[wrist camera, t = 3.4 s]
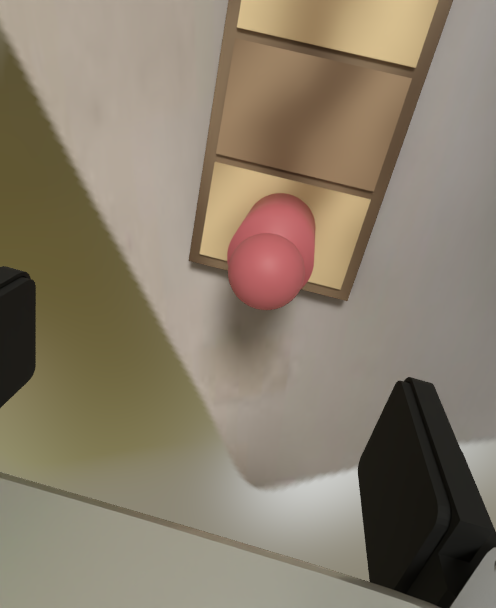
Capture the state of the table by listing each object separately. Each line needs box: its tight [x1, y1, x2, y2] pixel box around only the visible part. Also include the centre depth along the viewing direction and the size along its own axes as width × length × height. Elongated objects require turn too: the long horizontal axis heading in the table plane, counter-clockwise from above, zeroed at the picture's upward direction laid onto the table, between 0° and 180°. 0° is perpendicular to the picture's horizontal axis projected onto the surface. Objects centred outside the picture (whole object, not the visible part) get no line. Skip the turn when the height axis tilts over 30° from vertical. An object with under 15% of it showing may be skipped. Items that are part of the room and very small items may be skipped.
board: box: [189, 0, 453, 301], centre depth 23 cm, size 11×27×1 cm, turn 168°
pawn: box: [227, 193, 316, 310], centre depth 23 cm, size 4×4×9 cm
